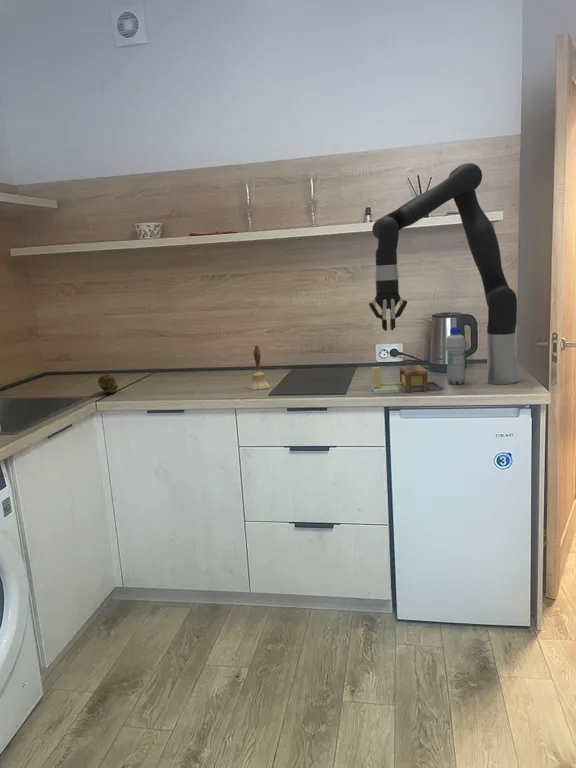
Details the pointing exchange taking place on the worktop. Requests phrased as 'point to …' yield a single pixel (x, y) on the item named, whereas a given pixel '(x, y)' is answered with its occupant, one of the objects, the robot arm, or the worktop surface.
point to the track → (395, 389)
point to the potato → (108, 383)
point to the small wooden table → (411, 371)
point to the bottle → (455, 357)
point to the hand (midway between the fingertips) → (388, 330)
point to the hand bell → (258, 374)
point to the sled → (415, 381)
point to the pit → (434, 386)
